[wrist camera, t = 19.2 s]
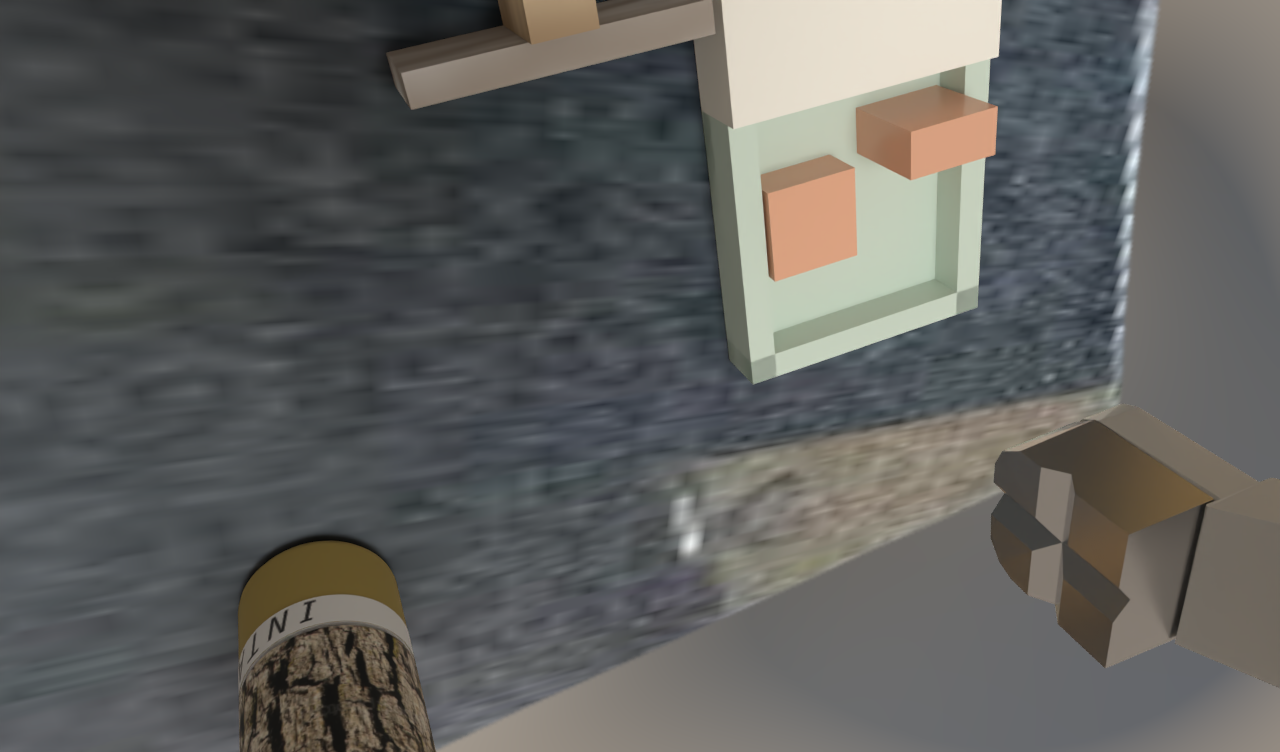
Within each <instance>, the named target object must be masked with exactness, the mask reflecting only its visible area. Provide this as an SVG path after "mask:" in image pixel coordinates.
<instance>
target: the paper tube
mask: <svg viewBox="0 0 1280 752" xmlns="http://www.w3.org/2000/svg"><path fill="white" fill-rule="evenodd" d="M238 639H239V667H238V680H239V744H240V752H436V750H435V745H434V741H433V737H432V732H431V728H430V724H429V719H428V715H427V711H426V706H425V702H424V698H423V693H422V689H421V685H420V680H419V676H418V671H417V667H416V663H415V658H414V654H413V650H412V645H411V641H410V637H409V633H408V630H407V626H406V622H405V618H404V613H403V609H402V604H401V600H400V596H399V591H398V587H397V583H396V580H395V577H394V575H393V573H392V571H391V570H390V568H389V567H388V565H387V564H386V563H385V562H384V561H383V560H382V559H381V558H380V557H379V556H378V555H376V554H375V553H373V552H371V551H370V550H368V549H365V548H363V547H361V546H358V545H355V544H351V543H347V542H342V541H316V542H310V543H305V544H301V545H298V546H295V547H292V548H290V549H288V550H285V551H283V552H282V553H280V554H278V555H276V556H275V557H273V558H272V559H270V560H269V561H268V562H266V563H265V564H264V565H263V566H261V567H260V568H259V569H258V570H257V571H256V572H255V573H254V575H253V576H252V577H251V578H250V580H249V581H248V583H247V584H246V586H245V588H244V590H243V593H242V595H241V599H240V603H239V608H238Z"/></svg>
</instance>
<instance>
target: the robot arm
mask: <svg viewBox="0 0 1280 752" xmlns="http://www.w3.org/2000/svg"><path fill="white" fill-rule="evenodd" d="M994 483H995V484H996V485H997V486H998V487H999V488H1000V489H1001V490H1002V491H1003V492H1004V495H1003V496H1002V498H1001V500H1000V501H999V503H998V504H997V506H996V508H995V509H994V511H993V513H992V514H991V540H992V543H993V545H994V548H995V551H996V554H997V557H998V559H999V562H1000V564H1001V565H1002V566H1003V568H1004V569H1005V571H1006V572H1007V574H1008V575H1009V577H1010V578H1011V579H1012V580H1013V581H1014V582H1015V583H1016V584H1017V585H1018V586H1019V587H1020V588H1021V589H1022V590H1023V591H1024V592H1025V593H1026V594H1027V595H1028V596H1031V597H1034V598H1038V599H1041V600H1044V601H1047V602H1050V603H1053V604H1055V608H1056V615H1057V622H1058V625H1059V626H1060V627H1062V628H1063V629H1064V630H1065V631H1066V632H1067V633H1068V634H1069V635H1070V636H1071V637H1072V638H1073V639H1074V640H1075V641H1076V642H1078V643H1079V644H1080V645H1081V646H1082V647H1083V648H1084V649H1085V650H1086V651H1087V652H1088V653H1089V654H1090V655H1092V657H1094V658H1095V659H1096V660H1097V661H1098V662H1099V663H1100V664H1101V665H1102V666H1103V667H1104V668H1108V667H1110V666H1112V665H1115V664H1117V663H1119V662H1122V661H1124V660H1126V659H1129V658H1131V657H1133V656H1136V655H1138V654H1140V653H1143V652H1145V651H1148V650H1150V649H1152V648H1155V647H1157V646H1159V645H1162V644H1164V643H1166V642H1169V641H1171V640H1173V639H1176V640H1175V644H1177V645H1179V646H1182V647H1184V648H1187V649H1189V650H1191V651H1193V652H1196V653H1198V654H1201V655H1203V656H1205V657H1208V658H1210V659H1212V660H1215V661H1217V662H1220V663H1222V664H1224V665H1226V666H1229V667H1231V668H1234V669H1236V670H1238V671H1241V672H1243V673H1246V674H1248V675H1250V676H1253V677H1255V678H1257V679H1259V680H1262V681H1264V682H1267V683H1269V684H1272V685H1274V686H1276V687H1278V688H1280V479H1275V478H1269V479H1267V480H1264V481H1261V482H1258V481H1256V480H1255V479H1253V478H1252V477H1250V476H1248V475H1247V474H1245V473H1244V472H1242V471H1240V470H1239V469H1237V468H1236V467H1234V466H1232V465H1231V464H1229V463H1227V462H1226V461H1224V460H1222V459H1221V458H1219V457H1218V456H1216V455H1215V454H1213V453H1211V452H1210V451H1208V450H1207V449H1205V448H1203V447H1202V446H1200V445H1198V444H1197V443H1195V442H1194V441H1192V440H1190V439H1189V438H1187V437H1186V436H1184V435H1182V434H1181V433H1179V432H1178V431H1176V430H1174V429H1173V428H1171V427H1170V426H1168V425H1166V424H1165V423H1163V422H1162V421H1160V420H1158V419H1157V418H1155V417H1153V416H1152V415H1150V414H1149V413H1147V412H1145V411H1144V410H1142V409H1140V408H1138V407H1136V406H1131V405H1126V404H1120V405H1118V406H1115V407H1112V408H1110V409H1107V410H1105V411H1102V412H1100V413H1097V414H1095V415H1092V416H1090V417H1087V418H1085V419H1083V420H1081V421H1080V422H1074V423H1072V424H1069V425H1067V426H1064V427H1062V428H1059V429H1057V430H1054V431H1052V432H1049V433H1047V434H1044V435H1042V436H1039V437H1037V438H1034V439H1032V440H1029V441H1027V442H1024V443H1022V444H1019V445H1017V446H1014V447H1012V448H1009V449H1007V450H1004V451H1002V453H1001V455H1000V456H999V458H998V460H997V461H996V463H995V473H994Z"/></svg>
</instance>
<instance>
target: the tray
mask: <svg viewBox="0 0 1280 752" xmlns="http://www.w3.org/2000/svg"><path fill="white" fill-rule="evenodd" d="M989 73H990V59H988V60H984V61H981V62H977V63H973V64H970V65H966V66H962V67H959V68H955V69H951V70H948V71H944V72H940V73H937V74H933V75H930V76H926V77H922V78H919V79H915V80H911V81H908V82H904V83H900V84H897V85H893V86H890V87H886V88H882V89H879V90H875V91H871V92H868V93H864V94H860V95H857V96H853V97H850V98H846V99H842V100H839V101H835V102H831V103H828V104H824V105H820V106H817V107H813V108H809V109H806V110H802V111H799V112H795V113H791V114H788V115H784V116H780V117H777V118H773V119H769V120H766V121H762V122H759V123H755V124H751V125H748V126H744V127H740V128H737V129H732V128H730V127H729V126H727V125H725V124H723V123H722V122H720V121H718V120H717V119H715V118H713V117H711V116H710V115H708V114H706V113H705V112H703V111H702V120H703V129H704V138H705V147H706V156H707V165H708V174H709V183H710V191H711V200H712V209H713V218H714V227H715V236H716V245H717V254H718V263H719V272H720V281H721V290H722V299H723V308H724V317H725V326H726V335H727V344H728V353H729V360H730V361H731V362H732V363H733V364H734V365H735V366H736V367H737V368H738V369H739V370H740V371H741V372H742V373H743V375H744V376H745V377H746V378H747V379H748V380H749V381H750V382H751V383H752V384H756V383H759V382H762V381H765V380H768V379H771V378H774V377H776V376H779V375H782V374H785V373H788V372H791V371H794V370H797V369H800V368H803V367H805V366H808V365H811V364H814V363H817V362H820V361H823V360H826V359H829V358H832V357H835V356H837V355H840V354H843V353H846V352H849V351H852V350H855V349H858V348H861V347H864V346H867V345H869V344H872V343H875V342H878V341H881V340H884V339H887V338H890V337H893V336H896V335H898V334H901V333H904V332H907V331H910V330H913V329H916V328H919V327H922V326H925V325H928V324H930V323H933V322H936V321H939V320H942V319H945V318H948V317H951V316H954V315H957V314H959V313H962V312H965V311H968V310H971V309H974V308H977V303H978V284H979V265H980V246H981V227H982V207H983V188H984V169H985V158H982V159H979V160H976V161H972V162H969V163H966V164H963V165H959V166H956V167H953V168H950V169H946V170H943V171H940V172H937V173H933V174H930V175H927V176H924V177H920V178H917V179H914V180H909V179H907V178H905V177H903V176H901V175H899V174H897V173H895V172H893V171H891V170H889V169H887V168H885V167H883V166H881V165H879V164H877V163H875V162H873V161H871V160H869V159H867V158H865V157H864V156H862V155H860V154H858V153H857V139H856V108H857V107H860V106H864V105H867V104H871V103H874V102H878V101H882V100H885V99H889V98H892V97H896V96H899V95H903V94H906V93H910V92H913V91H917V90H920V89H924V88H927V87H931V86H935V85H938V86H941V87H944V88H947V89H950V90H952V91H955V92H958V93H961V94H964V95H967V96H969V97H972V98H975V99H978V100H981V101H984V102H986V103H988V92H989ZM826 155H832V156H833V157H835V158H837V159H839V160H841V161H843V162H845V163H847V164H849V165H850V166H852V167H854V168H855V193H856V228H857V255H856V256H853V257H850V258H847V259H844V260H841V261H838V262H835V263H832V264H828V265H825V266H822V267H819V268H816V269H813V270H810V271H807V272H804V273H801V274H797V275H794V276H791V277H788V278H785V279H782V280H779V281H776V282H775V281H774V280H772V279H771V278H770V277H769V274H768V262H767V249H766V237H765V224H764V212H763V200H762V187H761V174H765V173H768V172H772V171H775V170H779V169H782V168H785V167H789V166H792V165H796V164H799V163H802V162H806V161H809V160H813V159H816V158H819V157H823V156H826Z"/></svg>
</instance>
